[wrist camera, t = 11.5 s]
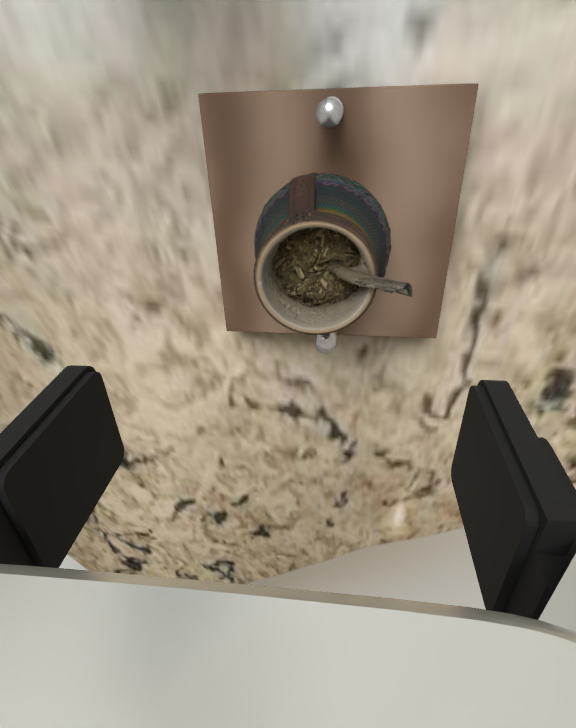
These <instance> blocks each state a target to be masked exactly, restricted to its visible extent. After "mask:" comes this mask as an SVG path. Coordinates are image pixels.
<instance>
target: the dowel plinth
mask: <svg viewBox="0 0 576 728" xmlns="http://www.w3.org/2000/svg"><path fill="white" fill-rule="evenodd" d="M477 90H478V84H442V85H414V86H387V87H360V88H333V89H306V90H278V91H251V92H224V93H204V94H198V95H199V103H200V112H201V120H202V128H203V137H204V145H205V153H206V162H207V170H208V178H209V187H210V195H211V203H212V212H213V220H214V228H215V237H216V245H217V253H218V262H219V270H220V278H221V287H222V295H223V303H224V311H225V320H226V328H227V331H244V332H273V333H299V332H295V331H292V330H290V329H288V328H286V327H284V326H282V325H281V324H279V323H278V322H276V321H275V320H274V319H273V318H272V317H271V316H270V315H269V314H268V313H267V312H266V310H265V309H264V308H263V306H262V304H261V303H260V301H259V299H258V297H257V294H256V291H255V286H254V279H253V276H254V273H253V270H254V264H255V260H256V258H255V252H254V251H255V249H254V236H255V231H256V227H257V222H258V219H259V217H260V215H261V213H262V210H263V208H264V205H265V204H266V203H267V202H268V200H269V199H270V198H271V197H272V196H273V195H274V194H275V193H276V192H277V191H279V190H280V189H281V188H282V187H284V185H286V184H287V183H289V182H290V181H291V180H292V179H293V178H296V177H298V176H300V175H306V174H310V173H313V172H314V173H318V174H321V173H329V174H330V173H332V174H336V175H341V176H344V177H347V178H350V179H351V180H353V181H355V182H357V183H360V184H361V185H363V186H364V187H365V188H366V189H367V190H368V191H369V192H370V193H371V194H372V195H373V196H374V197H375V198H376V199H377V200H378V202H379V203H380V204H381V205H382V206H381V207H382V209H383V210H384V213H385V215H386V218H387V221H388V223H389V228H390V229H391V234H390V237H391V252H390V255H389V261H388V264H387V267H386V270H385V271H386V273H385V276H384V278H389V279H392V280H396V281H400V282H409V283H410V284H411V285H412V289H413V297H410V296H406V295H403V294H398V293H396V292H395V291H394V292H393V293H389V292H384V291H381V290H380V289H377V290H376V294H375V297H374V299H373V301H372V303H371V305H370V306H369V308H368V309H367V311H366V312H365V313H364V314H363V315H362V316H361V317H360V318H359V319H358V320H357V321H355V322H354V323H353V324H351V325H349V326H348V327H346V328H344V329H342V330H339V331H337V332H334V333H329V334H323V335H317V340H316V348H317V349H318V351H320V352H321V353H331V352H332V351H333V350H334V349H335V347H336V335H360V336H389V337H418V338H436V335H437V329H438V323H439V317H440V311H441V305H442V299H443V293H444V287H445V281H446V275H447V269H448V263H449V257H450V251H451V245H452V239H453V233H454V227H455V221H456V215H457V209H458V203H459V197H460V191H461V185H462V179H463V173H464V168H465V162H466V156H467V150H468V144H469V138H470V132H471V126H472V120H473V114H474V108H475V102H476V96H477Z"/></svg>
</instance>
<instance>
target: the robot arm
mask: <svg viewBox="0 0 576 728" xmlns="http://www.w3.org/2000/svg"><path fill="white" fill-rule="evenodd" d="M123 457H124V446H123V443H122V440H121V437H120V433H119V430H118V427H117V424H116V421H115V417H114V414H113V411H112V408H111V404H110V401H109V398H108V395H107V392H106V388H105V385H104V382H103V379H102V376H101V374H100V373H99V372H96V371H95V369H94V368H93V367H91V366H72V365H71V366H67V367H66V368H65V369H64V370H63V371H62V372H61V373H60V374H59V375H58V376H57V377H56V378H55V379H54V380H53V381H52V382H51V383H50V384H49V385H48V386H47V387H46V388H45V389H44V390H43V391H42V392H41V393H40V394H39V395H38V396H37V397H36V398H35V399H34V400H33V401H32V402H31V403H30V404H29V405H28V406H27V407H26V408H25V409H24V410H23V411H22V412H21V413H20V414H19V415H18V416H17V417H16V418H15V419H14V420H13V421H12V422H11V423H10V424H9V425H8V426H7V427H6V428H5V429H4V430H3V431H2V432H1V433H0V728H576V490H575V488H574V486H573V484H572V482H571V481H570V479H569V477H568V475H567V474H566V472H565V470H564V468H563V466H562V465H561V463H560V461H559V459H558V458H557V456H556V454H555V452H554V450H553V449H552V447H551V445H550V444H549V442H548V441H547V440H546V439H544V438H539V437H537V435H536V433H535V431H534V430H533V428H532V426H531V424H530V422H529V420H528V418H527V417H526V415H525V413H524V411H523V409H522V407H521V405H520V404H519V402H518V400H517V398H516V396H515V394H514V392H513V391H512V389H511V387H510V385H509V383H508V382H507V381H495V380H481V381H480V382H479V383H478V386H471V387H470V390H469V393H468V398H467V402H466V406H465V411H464V415H463V419H462V424H461V428H460V432H459V437H458V441H457V445H456V450H455V454H454V458H453V463H452V468H451V477H452V483H453V487H454V491H455V494H456V498H457V502H458V506H459V510H460V513H461V517H462V521H463V525H464V529H465V532H466V536H467V540H468V544H469V548H470V551H471V555H472V559H473V563H474V566H475V570H476V574H477V578H478V582H479V586H480V589H481V593H482V597H483V601H484V605H485V608H486V610H483V609H476V608H471V607H462V606H453V605H444V604H435V603H427V602H417V601H408V600H400V599H390V598H381V597H370V596H360V595H349V594H339V593H328V592H317V591H308V590H297V589H286V588H276V587H266V586H255V585H244V584H233V583H222V582H211V581H200V580H189V579H178V578H167V577H155V576H144V575H133V574H121V573H109V572H97V571H86V570H74V569H62V568H59V566H60V565H61V563H62V561H63V560H64V558H65V556H66V555H67V553H68V551H69V550H70V548H71V546H72V545H73V543H74V541H75V540H76V538H77V536H78V535H79V533H80V531H81V530H82V528H83V526H84V524H85V523H86V521H87V519H88V518H89V516H90V514H91V513H92V511H93V509H94V508H95V506H96V504H97V503H98V501H99V499H100V498H101V496H102V494H103V493H104V491H105V489H106V487H107V486H108V484H109V482H110V481H111V479H112V477H113V476H114V474H115V472H116V471H117V469H118V467H119V466H120V464H121V462H122V460H123Z"/></svg>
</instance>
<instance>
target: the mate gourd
mask: <svg viewBox="0 0 576 728" xmlns="http://www.w3.org/2000/svg"><path fill="white" fill-rule="evenodd" d="M381 206H382V205H381V204H380V203H379V202H378V200H377V199H376V198H375V197H374V196H373V195H372V194H371V193H370V192H369V191H368V190H367V189H366V188H365V187H364V186H363V185H361V184H360V183H357V182H355V181H353V180H351V179H350V178H347V177H344V176H341V175H336V174H332V173H330V174H329V173H321V174H318V173H314V172H313V173H310V174H306V175H300V176H298V177H296V178H293V179H292V180H291V181H290V182H289V183H287V184H286V185H284V187H282V188H281V189H280V190H279V191H277V192H276V193H275V194H274V195H273V196H272V197H271V198H270V199H269V200H268V202H267V203H266V204H265V205H264V208H263V210H262V213H261V215H260V217H259V219H258V222H257V227H256V231H255V236H254V249H255V251H254V252H255V258H256V260H255V264H254V270H253V273H254V276H253V279H254V286H255V291H256V294H257V297H258V299H259V301H260V303H261V304H262V306H263V308H264V309H265V310H266V312H267V313H268V314H269V315H270V316H271V317H272V318H273V319H274V320H275V321H276V322H278V323H279V324H281V325H282V326H284V327H286V328H288V329H290V330H292V331H295V332H299V333H302V334H309V335H323V334H329V333H334V332H337V331H339V330H342V329H344V328H346V327H348V326H349V325H351V324H353V323H354V322H355V321H357V320H358V319H359V318H360V317H361V316H362V315H363V314H364V313H365V312H366V311H367V309H368V308H369V306H370V305H371V303H372V301H373V299H374V297H375V294H376V290H377V289H380V290H381V291H384V292H389V293H393V292H394V291H395V292H396V293H398V294H403V295H406V296H410V297H413V289H412V285H411V284H410V283H409V282H400V281H396V280H392V279H389V278H384V276H385V273H386V271H385V270H386V267H387V264H388V261H389V255H390V252H391V237H390V234H391V229H390V228H389V223H388V221H387V218H386V215H385V213H384V210H383V209H382V207H381Z"/></svg>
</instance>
